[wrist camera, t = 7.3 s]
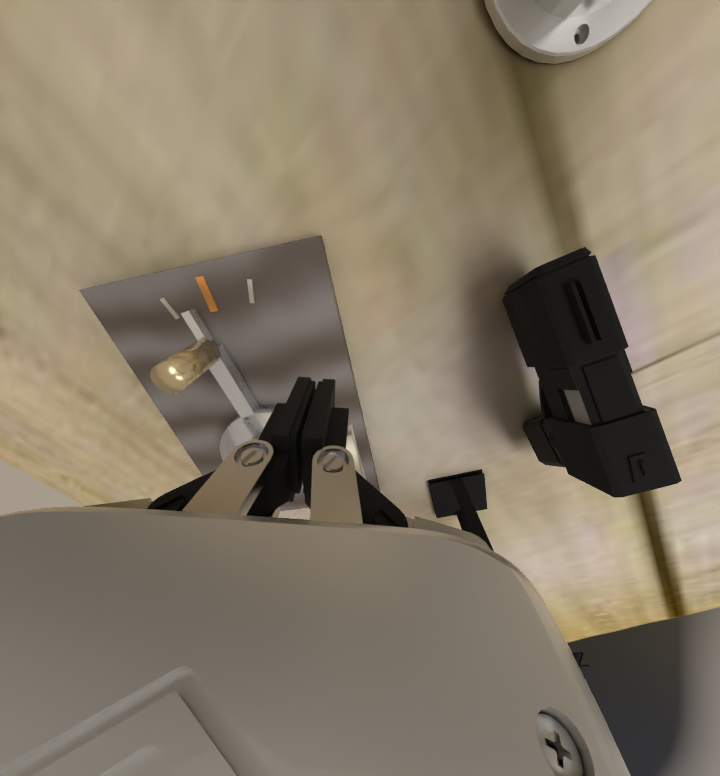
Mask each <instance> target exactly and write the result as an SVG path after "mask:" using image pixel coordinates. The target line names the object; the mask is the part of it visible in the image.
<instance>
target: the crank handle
mask: <svg viewBox="0 0 720 776" xmlns="http://www.w3.org/2000/svg"><path fill="white" fill-rule="evenodd" d="M181 315H182V317H183V318H184V320H185V321H186V323H187V324H188V326H189V328H190V329H191V331H192V332H193V334H194V336H195V337H196V339H197V340H198V341H196V342H195V343H193V344H191V345H189V346H188V347H186V348H184V349H183V350H181V351H179V352H178V353H176V354H174V355H173V356H171V357H169V358H168V359H166V360H164V361H163V362H161V363H159V364H157V365H156V366H154V367H153V368H152V369H151V372H150V377H151V380H152V382H153V383H154V384H155V386H156V387H158V388H159V389H160V390H162V391H164V392H167V393H171V394H176V393H179V392H181V391H182V390H184V389H185V388H186V387H187V386H188V385H190V384H191V383H192V382H193V381H195V380H196V379H197V378H198V377H199V376H201V375H202V374H203V373H204V372H205V371H207V370H208V369H210V371H211V372H212V374H213V375H214V377H215V379H216V380H217V382H218V383H219V385H220V386H221V388H222V389H223V391H224V393H225V394H226V396H227V397H228V399H229V400H230V402H231V403H232V405H233V406H234V408H235V410H236V411H237V413H238V414H239V415H238V416H236V417H235V418H234V419H233V420H232V422H231V423H230V425H229V426H228V427H227V429H226V430H225V432H224V433H223V435H222V437H221V441H220V454H221V458H222V460H223V461H224V460H225V458H226V457H227V456H228V455H229V454H230V452H231V451H232V450H233V449H234V448H235V447H236V446H238V445H240V444H241V443H243V442H246V441H250V440H258V439H259V437H260V435H261V433H262V431H263V429H264V427H265V425H266V423H267V421H268V419H269V417H270V415H271V414H272V412H273V410H274V408H275V406H261V407H259V405H258V403H257V402H256V400H255V398H254V397H253V395H252V393H251V392H250V390H249V388H248V386H247V385H246V383H245V381H244V380H243V378H242V376H241V375H240V373H239V371H238V369H237V368H236V366H235V364H234V363H233V361H232V359H231V358H230V356H229V354H228V353H227V351H226V349H225V347H224V346H223V344H220V345H216V344H215V343H214V342H212V341H211V340H213V338H212V336H211V334H210V333H209V331H208V329H207V328H206V326H205V324H204V323H203V321H202V319H201V318H200V316H199V314H198V313H197V311H196V309H195V308H194V309H191V310H189V311H186V312H183V313H181ZM301 489H303V484H302V488H301Z"/></svg>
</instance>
